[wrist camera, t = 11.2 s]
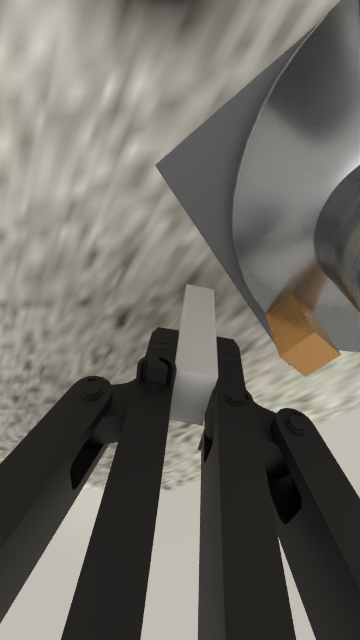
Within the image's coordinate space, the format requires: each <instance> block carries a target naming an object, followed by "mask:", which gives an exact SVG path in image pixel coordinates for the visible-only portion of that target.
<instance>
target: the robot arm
mask: <svg viewBox="0 0 360 640" xmlns="http://www.w3.org/2000/svg"><path fill="white" fill-rule="evenodd" d="M204 418H205V429H204V432H203V435H202V437H201V440H200V443H199V447H198V450H201V448H202V451H201V504H200V557H199V606H198V607H199V608H198V640H296V636H295V631H294V625H293V619H292V614H291V608H290V603H289V597H288V591H287V586H286V580H285V574H284V569H283V563H282V558H281V552H280V546H279V541H278V537H279V539H280V542H281V545H282V548H283V551H284V553H285V556H286V559H287V562H288V564H289V567H290V570H291V572H292V575H293V578H294V581H295V583H296V586H297V589H298V592H299V594H300V597H301V600H302V603H303V605H304V608H305V611H306V613H307V616H308V619H309V622H310V624H311V627H312V630H313V632H314V635H315V638H316V640H360V498H359V496H358V495H357V494H356V492H355V490H354V489H353V487H352V485H351V484H350V482H349V481H348V479H347V477H346V476H345V474H344V472H343V471H342V469H341V468H340V466H339V464H338V463H337V461H336V459H335V458H334V456H333V455H332V453H331V451H330V450H329V448H328V447H327V445H326V443H325V442H324V440H323V439H322V437H321V435H320V434H319V432H318V431H317V429H316V427H315V426H314V424H313V423H312V422H311V420H310V419H309V418H308V417H307V416H305V415H304V414H303V413H301V412H299V411H297V410H295V409H290V408H284V409H280V410H279V411H278V412H277V413H274V412H272V411H270V410H268V409H265V408H263V407H261V406H260V405H258V404H257V403H255V402H254V401H253V398H252V396H251V394H250V393H249V392H248V391H247V390H246V388H245V382H244V375H243V369H242V364H241V357H240V350H239V347H238V345H237V344H236V342H235V341H234V340H233V339H227V338H222V337H216V321H215V301H214V289H210V288H204V287H199V286H193V285H188V284H187V285H186V290H185V296H184V301H183V307H182V312H181V317H180V323H179V329H178V331H177V330H172V329H166V328H160V327H158V328H157V329H156V330H155V331H154V332H152V335H151V338H150V342H149V345H148V349H147V352H146V356H145V357H143V358H142V359H140V361H139V363H138V366H137V377H136V379H134V380H133V381H131V382H128V383H124V384H117V385H111V384H110V382H109V381H108V380H106V379H105V378H103V377H98V376H88V377H85V378H82V379H80V380H79V381H77V382H76V383H75V384H74V385H73V386H72V387H71V388H70V389H69V390H68V391H67V392H66V393H65V394H64V395H63V397H62V398H61V399H60V400H59V401H58V402H57V403H56V404H55V405H54V406H53V407H52V408H51V410H50V411H49V412H48V413H47V414H46V415H45V416H44V417H43V418H42V419H41V420H40V422H39V423H38V424H37V425H36V426H35V427H34V428H33V429H32V430H31V431H30V432H29V433H28V435H27V436H26V437H25V438H24V439H23V440H22V441H21V442H20V443H19V444H18V445H17V447H16V448H15V449H14V450H13V451H12V452H11V453H10V454H9V455H8V456H7V457H6V458H5V460H4V461H3V462H2V463H1V464H0V623H1V621H2V620H3V618H4V616H5V615H6V613H7V612H8V610H9V608H10V607H11V605H12V603H13V602H14V600H15V598H16V596H17V595H18V593H19V592H20V590H21V589H22V587H23V585H24V584H25V582H26V580H27V579H28V577H29V575H30V574H31V572H32V570H33V569H34V567H35V565H36V564H37V562H38V560H39V559H40V557H41V556H42V554H43V552H44V551H45V549H46V547H47V546H48V544H49V542H50V541H51V539H52V537H53V536H54V534H55V532H56V531H57V529H58V528H59V526H60V524H61V522H62V521H63V519H64V518H65V516H66V514H67V513H68V511H69V509H70V508H71V506H72V504H73V503H74V501H75V499H76V498H77V496H78V495H79V493H80V491H81V490H82V488H83V486H84V485H85V483H86V481H87V480H88V478H89V476H90V475H91V473H92V471H93V470H94V468H95V467H96V465H97V463H98V462H99V460H100V458H101V457H102V455H103V453H104V452H105V450H106V448H107V447H108V445H109V443H114V442H118V445H117V449H116V452H115V455H114V459H113V462H112V466H111V469H110V473H109V476H108V480H107V483H106V486H105V490H104V493H103V497H102V500H101V504H100V507H99V511H98V514H97V517H96V521H95V524H94V528H93V531H92V535H91V538H90V541H89V545H88V548H87V552H86V555H85V559H84V562H83V566H82V569H81V572H80V576H79V579H78V583H77V587H76V590H75V593H74V597H73V600H72V603H71V607H70V610H69V614H68V618H67V621H66V624H65V627H64V631H63V634H62V638H61V640H140V638H141V630H142V623H143V614H144V608H145V599H146V592H147V583H148V577H149V570H150V562H151V553H152V547H153V539H154V531H155V524H156V516H157V509H158V501H159V493H160V486H161V478H162V470H163V463H164V455H165V448H166V440H167V432H168V425H169V420H175V421H181V422H187V423H193V424H199V425H203V421H204ZM277 534H278V535H277Z"/></svg>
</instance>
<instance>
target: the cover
mask: <svg viewBox="0 0 360 640" xmlns="http://www.w3.org/2000/svg"><path fill="white" fill-rule="evenodd" d="M313 242H314V252H315V257H316V260H317V262H318V264H319V266H320V268H321V270H322V271H323V272H324V273H325V274H326V276H327V277H328V278H329V279H330V280H331V281H332V282H333V283H334V285H335V286H336V287H337V288H338V289H339V290H340V291H341V292H342V293H343V294H344V296H345V297H346V298H347V299H348V300H349V301H350V302H351V303H352V304H353V306H354V307H355V308H356V309H357V310H358V311H359V312H360V165H359V166H357V167H356V168H355V169H354V170H353V171H351V172H350V173H349V174H348V175H347V176H346V177H345V178H344V179H343V180H342V181H341V182H340V183H339V184H338V185H337V187H336V188H335V189H334V190H333V192H332V193H331V194H330V196H329V197H328V199H327V201H326V202H325V204H324V206H323V208H322V210H321V212H320V214H319V217H318V220H317V222H316V227H315V231H314V240H313Z"/></svg>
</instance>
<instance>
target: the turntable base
mask: <svg viewBox="0 0 360 640" xmlns="http://www.w3.org/2000/svg"><path fill="white" fill-rule="evenodd" d="M319 23H320V22H319ZM319 23H318V24H319ZM318 24H317V25H318ZM317 25H316V26H317ZM316 26H315V27H316ZM315 27H314V28H315ZM314 28H312V29H311V30H310V31H309V32H308V33H307V34H306V35H304V36H303V37H302V38H301V39H300V40H299V41H298V42H296V43H295V44H294V45H293V46H292V47H291V48H289V49H288V50H287V51H286V52H285V53H284V54H283V55H281V56H280V57H279V58H278V59H277V60H276V61H275V62H273V63H272V64H271V65H270V66H269V67H268V68H267V69H265V70H264V71H263V72H262V73H261V74H260V75H258V76H257V77H256V78H255V79H254V80H253V81H252V82H250V83H249V84H248V85H247V86H246V87H245V88H244V89H242V90H241V91H240V92H239V93H238V94H237V95H236V96H234V97H233V98H232V99H231V100H230V101H229V102H227V103H226V104H225V105H224V106H223V107H222V108H221V109H219V110H218V111H217V112H216V113H215V114H214V115H213V116H211V117H210V118H209V119H208V120H207V121H206V122H205V123H203V124H202V125H201V126H200V127H199V128H198V129H196V130H195V131H194V132H193V133H192V134H191V135H190V136H188V137H187V138H186V139H185V140H184V141H183V142H182V143H180V144H179V145H178V146H177V147H176V148H175V149H173V150H172V151H171V152H170V153H169V154H168V155H167V156H165V157H164V158H163V159H162V160H161V161H160V162H159V163H157V164H156V165H155V166H156V167H157V169H158V170H159V172H160V173H161V175H162V176H163V178H164V179H165V181H166V182H167V184H168V185H169V187H170V188H171V190H172V191H173V193H174V194H175V196H176V197H177V199H178V200H179V201H180V203H181V204H182V206H183V207H184V209H185V210H186V212H187V213H188V215H189V216H190V218H191V219H192V221H193V222H194V224H195V225H196V227H197V228H198V230H199V231H200V233H201V234H202V236H203V237H204V239H205V240H206V242H207V243H208V245H209V246H210V248H211V249H212V251H213V252H214V254H215V255H216V257H217V258H218V260H219V261H220V263H221V264H222V266H223V267H224V269H225V270H226V272H227V273H228V275H229V276H230V278H231V279H232V281H233V282H234V284H235V285H236V287H237V288H238V290H239V291H240V293H241V294H242V296H243V297H244V299H245V300H246V302H247V303H248V305H249V306H250V308H251V309H252V311H253V312H254V313H255V315H256V316H257V318H258V319H259V321H260V322H261V324H262V325H263V327H264V328H265V330H266V331H267V333H268V334H269V336H270V337H271V339H272V340H273V342H274V343H275V341H274V338H273V335H272V332H271V329H270V326H269V323H268V321H267V318H266V315H265V314H266V313H265V312H264V310H263V309H262V308H261V307H260V305H259V304H258V303H257V301H256V300H255V299H254V297H253V295H252V293H251V292H250V290H249V288H248V286H247V284H246V282H245V280H244V277H243V274H242V271H241V269H240V266H239V262H238V259H237V255H236V250H235V245H234V240H233V233H232V219H231V212H232V196H233V188H234V183H235V177H236V172H237V167H238V163H239V160H240V157H241V153H242V150H243V147H244V143H245V140H246V138H247V136H248V133H249V131H250V128H251V126H252V124H253V121H254V119H255V117H256V114H257V112H258V110H259V108H260V106H261V105H262V103H263V101H264V99H265V97H266V96H267V94H268V92H269V90H270V88H271V86H272V85H273V83H274V81H275V80H276V78H277V77H278V75H279V74H280V73H281V71H282V70H283V68H284V67H285V65H286V64H287V62H288V61H289V59H290V58H291V56H292V55H293V54H294V52H295V51H296V50H297V49H298V47H299V46H300V45H301V44H302V43H303V42H304V40H305V39H306V38H307V37H308V36H309V34H310V33H311V32H312V31H313V30H314ZM275 345H276V344H275ZM287 363H288V362H287ZM288 364H289V363H288ZM289 365H290V364H289Z"/></svg>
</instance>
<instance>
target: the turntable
mask: <svg viewBox="0 0 360 640" xmlns="http://www.w3.org/2000/svg"><path fill="white" fill-rule="evenodd" d="M359 165H360V0H341V1H340V2H339V3H338V4H337V5H336V6H335V7H334V8H333V9H332V10H331V11H330V12H329V13H328V14H327V15H326V16H325V17H324V18H323V19H322V20H321V21H320V23H319V24H318V25H317V26H316V27H315V28H314V30H313V31H312V32H311V33H310V34H309V36H308V37H307V38H306V39H305V40H304V42H303V43H302V44H301V45H300V46H299V47H298V49H297V50H296V51H295V52H294V54H293V55H292V56H291V58H290V59H289V61H288V62H287V64H286V65H285V67H284V68H283V70H282V71H281V73H280V74H279V75H278V77H277V78H276V80H275V81H274V83H273V85H272V86H271V88H270V90H269V92H268V94H267V96H266V97H265V99H264V101H263V103H262V105H261V106H260V108H259V110H258V112H257V114H256V117H255V119H254V121H253V124H252V126H251V128H250V131H249V133H248V136H247V138H246V140H245V143H244V147H243V150H242V153H241V157H240V160H239V163H238V167H237V172H236V177H235V183H234V188H233V196H232V212H231V219H232V233H233V240H234V245H235V250H236V255H237V259H238V262H239V266H240V269H241V271H242V274H243V277H244V280H245V282H246V284H247V286H248V288H249V290H250V292H251V293H252V295H253V297H254V299H255V300H256V301H257V303H258V304H259V305H260V307H261V308H262V309H263V310H264V312H265V313H266V314H265V315H266V318H267V321H268V323H269V326H270V329H271V332H272V335H273V338H274V341H275V344H276V347H277V350H278V352H279V355H280V357H281V358H282V359H284V360H285V361H286V362H288V363H289V364H290V365H291V366H293V367H294V368H295V369H297V370H298V371H299V372H300V373H302V374H303V375H304V376H308V375H309V374H311V373H313V372H314V371H316V370H317V369H319V368H321V367H322V366H324V365H325V364H327V363H329V362H330V361H332V360H333V359H335V358H337V357H338V356H340V355H341V354H340V353H339V351H338V350H343V351H351V352H360V312H359V311H358V310H357V309H356V308H355V307H354V306H353V304H352V303H351V302H350V301H349V300H348V299H347V298H346V297H345V296H344V294H343V293H342V292H341V291H340V290H339V289H338V288H337V287H336V286H335V285H334V283H333V282H332V281H331V280H330V279H329V278H328V277H327V276H326V274H325V273H324V272H323V271H322V270H321V268H320V266H319V264H318V262H317V260H316V257H315V252H314V242H313V240H314V231H315V227H316V222H317V220H318V217H319V214H320V212H321V210H322V208H323V206H324V204H325V202H326V201H327V199H328V197H329V196H330V194H331V193H332V192H333V190H334V189H335V188H336V187H337V185H338V184H339V183H340V182H341V181H342V180H343V179H344V178H345V177H346V176H347V175H348V174H349V173H350V172H351V171H353V170H354V169H355V168H356V167H357V166H359Z"/></svg>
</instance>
